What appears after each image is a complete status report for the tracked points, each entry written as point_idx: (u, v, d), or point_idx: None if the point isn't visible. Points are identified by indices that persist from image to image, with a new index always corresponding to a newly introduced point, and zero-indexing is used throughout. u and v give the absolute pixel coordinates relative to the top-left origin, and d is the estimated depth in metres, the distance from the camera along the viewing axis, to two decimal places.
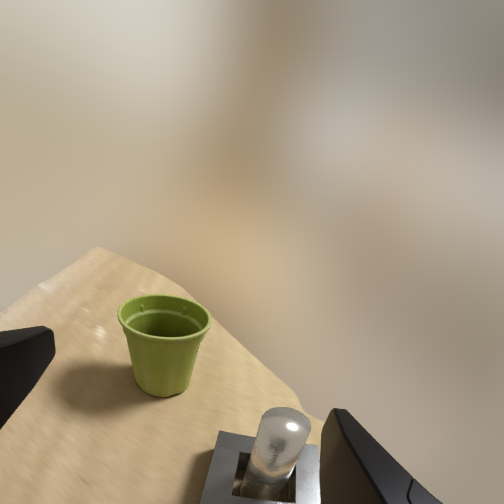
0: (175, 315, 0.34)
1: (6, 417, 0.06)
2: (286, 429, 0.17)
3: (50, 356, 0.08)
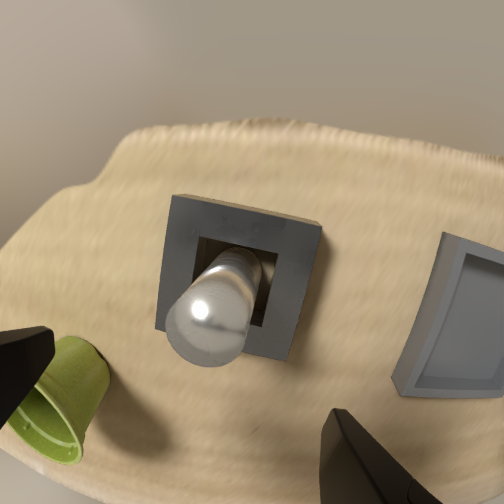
0: None
1: (6, 417, 0.06)
2: (218, 336, 0.12)
3: (50, 356, 0.08)
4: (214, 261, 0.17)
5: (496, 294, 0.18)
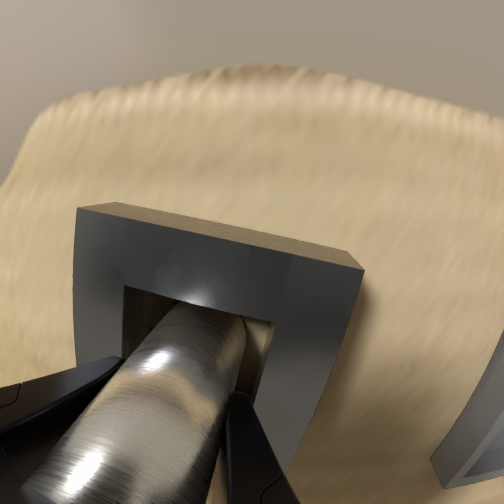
0: None
1: None
2: None
3: None
4: (152, 334, 0.09)
5: None
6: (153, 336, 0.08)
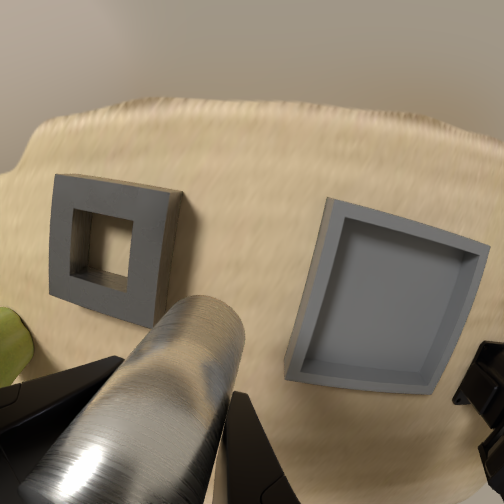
0: None
1: None
2: None
3: None
4: (150, 333, 0.09)
5: (409, 271, 0.19)
6: (151, 336, 0.08)
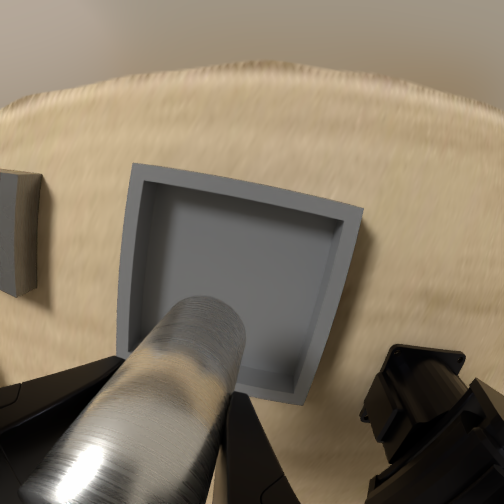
0: None
1: None
2: None
3: None
4: (151, 334, 0.09)
5: (252, 245, 0.17)
6: (152, 336, 0.08)
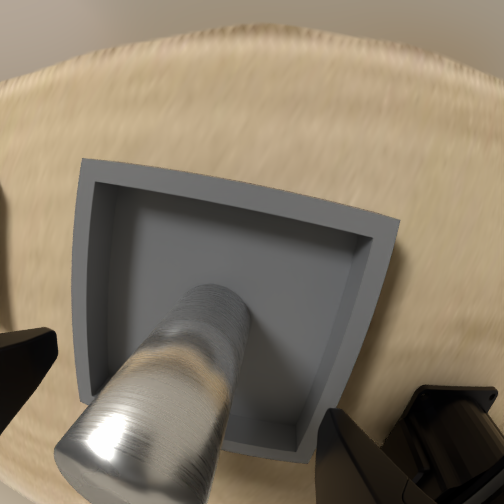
0: None
1: (9, 419, 0.06)
2: None
3: (53, 357, 0.08)
4: (168, 315, 0.10)
5: (243, 268, 0.12)
6: (170, 317, 0.10)
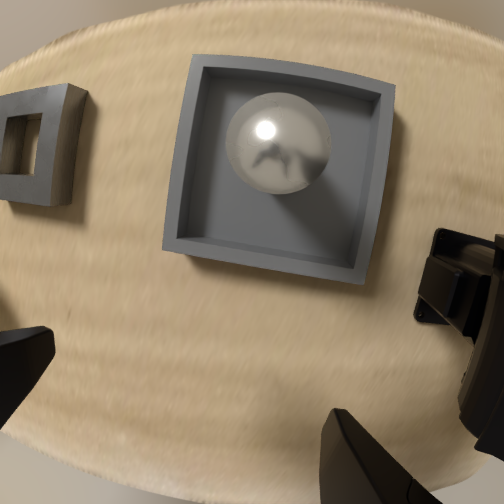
0: None
1: (6, 417, 0.06)
2: (296, 144, 0.09)
3: (50, 356, 0.08)
4: None
5: None
6: None
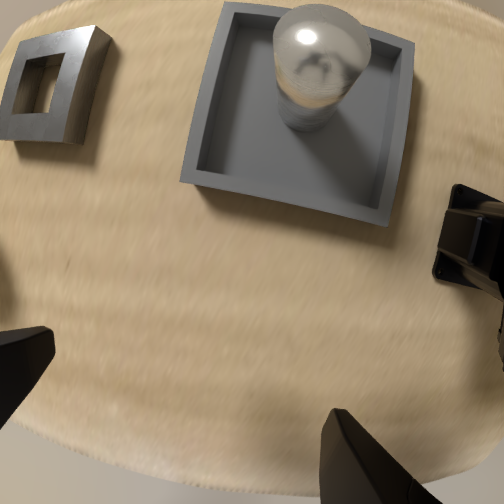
0: None
1: (6, 417, 0.06)
2: (340, 44, 0.08)
3: (50, 356, 0.08)
4: None
5: None
6: None
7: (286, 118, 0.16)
